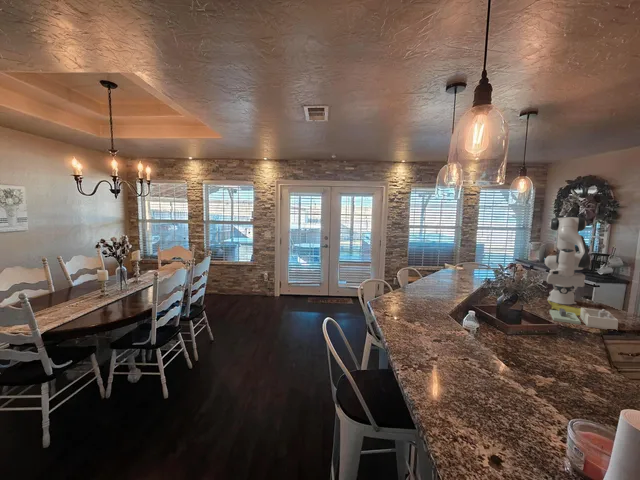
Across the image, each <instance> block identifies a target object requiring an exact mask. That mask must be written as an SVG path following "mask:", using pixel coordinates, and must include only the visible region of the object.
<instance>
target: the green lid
mask: <svg viewBox="0 0 640 480" xmlns="http://www.w3.org/2000/svg"><path fill="white" fill-rule="evenodd" d="M549 314H550V316H551V319H552V320H553V321H554V322H555V321H556V322H561V323H562V322H563V323H568V324H573V325H574V324H575V325H581V324H582V323H581V322H582V320H580V318H578V317H579V316H576V315H575V313H571V312H566V311H565V310H564V309H561V308H560V310H559V311H558V310H554V309H549Z"/></svg>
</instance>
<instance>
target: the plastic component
mask: <svg viewBox="0 0 640 480" xmlns="http://www.w3.org/2000/svg"><path fill="white" fill-rule="evenodd" d="M547 303H548V304H549V305H550V306H551V310H557V311H559V310H560V308H561V309H564V310H565V311H566V312H571V313H575V315H576V316H577V317H579V316H580V313H581V308H583V307H582V306H581V307H580V308H577V307H574V306H569V305H566V304H559V303H555V302H552V301H549V300H547Z"/></svg>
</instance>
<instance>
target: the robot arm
mask: <svg viewBox="0 0 640 480" xmlns="http://www.w3.org/2000/svg"><path fill="white" fill-rule="evenodd" d="M586 227H587V221H586V219H585V218H584V217H575V216H574V217H571V216H568V217H554V218H552V219H551V220H550V222H549V228H550V230H552V231H557V240H556V241H557V243H556V249H557V250H558V251H559V253H557V254H555V255H547V256H546V258H545V259H544V264H545V266H546V267H547V268H548V269H550V270H549V273H548V274H547V277H546V283H547V284H549V285H552V290H551V291H549V293H548V294H549V296H547V299H546V300H547V301H548V300H549V301H550V302H554V303H557V304H560V305H567V306H569V305H577V302H576V301H575V293H576V291H577V289H578V287H579V288H584V287H585V280H586V275H585V274H584V273H582V272H581V273H579V272H575V271H581V270H582V271H583V270H584V269H586V268H588V267H589V266H590V265H591V264H592V259H591V256H590V254H589V251H588V248H587V243H586V241H585V238H584V236H583V235H581V234H579V232H582V231H584V230H585V229H586ZM576 246H577V247H578V252H579V253H578V252H577V251H576ZM573 287H574V288H573Z"/></svg>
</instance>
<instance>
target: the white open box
mask: <svg viewBox="0 0 640 480" xmlns="http://www.w3.org/2000/svg"><path fill="white" fill-rule="evenodd" d="M580 309H581V313H580V318H579V319H581V321H583V323H584V324H585V326H586V327H588V328H593V329H595V328H596V329H602V330H607V329H616V330H617V331H618V326H619V319H617V318H616V317H615V316H614V315H613V314H612V313H611V312H610V311H609V310H606V309H604V308H602V309H594V308H586V307H582V308H581V307H580Z"/></svg>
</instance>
